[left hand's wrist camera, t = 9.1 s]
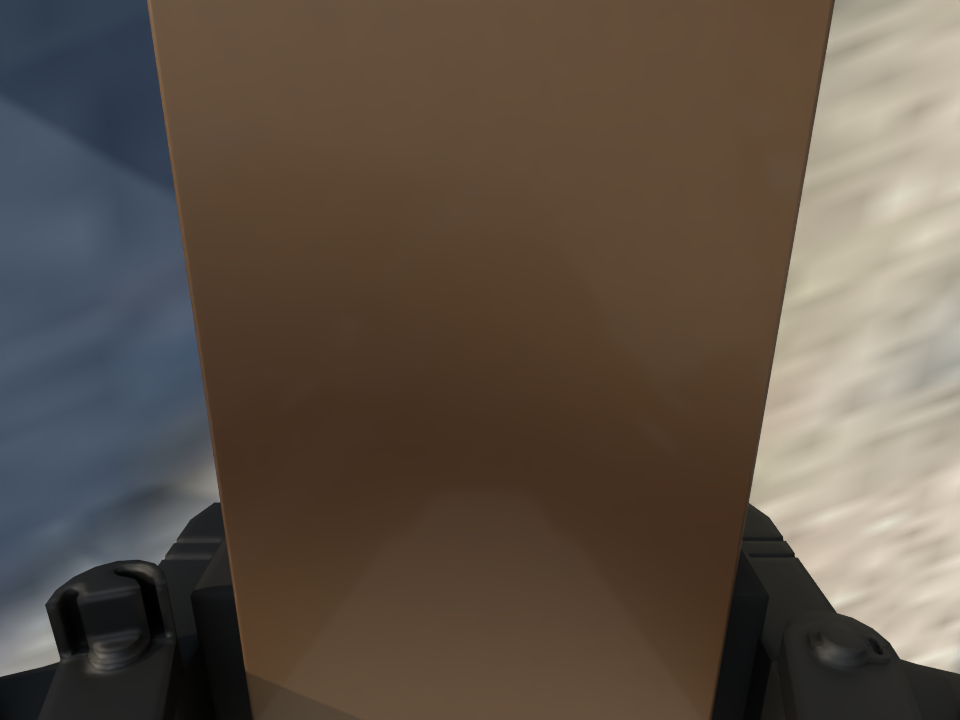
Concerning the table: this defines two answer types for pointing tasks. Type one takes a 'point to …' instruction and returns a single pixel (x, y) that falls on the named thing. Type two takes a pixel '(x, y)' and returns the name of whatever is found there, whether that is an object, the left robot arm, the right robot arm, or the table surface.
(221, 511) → the left robot arm
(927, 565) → the table surface
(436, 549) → the bar
